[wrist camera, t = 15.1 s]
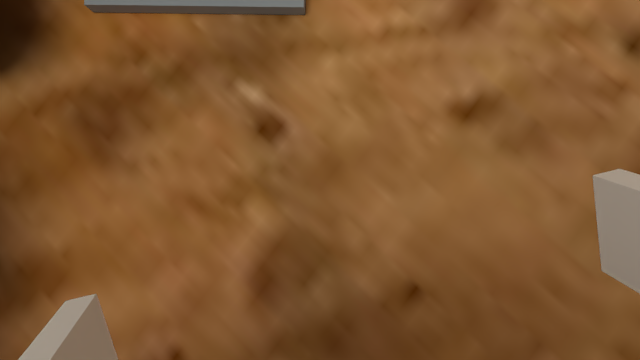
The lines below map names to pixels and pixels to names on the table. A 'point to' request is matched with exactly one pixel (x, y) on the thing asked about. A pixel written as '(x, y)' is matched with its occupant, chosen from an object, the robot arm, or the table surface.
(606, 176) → the robot arm
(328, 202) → the table surface
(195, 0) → the board
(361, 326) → the table surface
